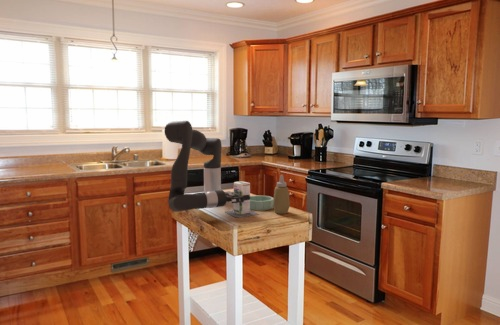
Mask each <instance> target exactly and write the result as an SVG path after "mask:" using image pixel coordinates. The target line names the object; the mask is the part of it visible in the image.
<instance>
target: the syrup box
mask: <svg viewBox="0 0 500 325" xmlns="http://www.w3.org/2000/svg"><path fill="white" fill-rule="evenodd" d="M233 192H234V194H238V195H242V196H243V195H250V196H251V183H250V182H247V181H234V182H233ZM235 197H236V196H235ZM239 200H240V198H239ZM233 212H234V213H237V214H240V215H241V214H246V213H250V200H244V202H240V203H233Z"/></svg>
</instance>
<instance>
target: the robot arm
mask: <svg viewBox="0 0 500 325" xmlns="http://www.w3.org/2000/svg"><path fill="white" fill-rule="evenodd" d="M164 136H165V137H166V140H168V141H169V142H170V143H175V144H180V145H181V149H180V151H179V154H178V156H177V157H176V159H175V161H174V163H173V165H172V166H171V170H170V188H169V193H168V199H167V200H168V203H167V204H168V207H169V209H170V210H171V211H172V212H175V213H177V212H184V211H190V210H200V209H201V210H202V209H213V208H214V209H215V208H220V207H221V208H222V207H225V206H226V203H231V204H234V203H240V202H244V200H250V196H251V194H250V195H243V196H242V195H238V194H234V191H224V190H222V188H221V187H222V185H221V184H222V173H221V170H222V167H221V166H222V165H221V164H222V141H221V139H220V138H216V137H214V138H213V137H212V138H211V137H206V135H205V134H204V133H203V132H201V131H200V130H197V129H194V128H193V126H192V124H191V123H190V121H189V120H179V121H177V120H176V121H170V122H168V123H167V124H166V125H165V126H164ZM191 149H192V150H194V151H198V152H200V153H201V154H203V155H206V156H212V159H209V160H207V161H204V163H203V192H195V193H185V190H186V189H187V187H188V167H189V158H190V152H191ZM235 196H236V197H235ZM239 198H240V200H239Z"/></svg>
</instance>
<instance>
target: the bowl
mask: <svg viewBox="0 0 500 325" xmlns="http://www.w3.org/2000/svg"><path fill="white" fill-rule="evenodd" d="M273 200H274V196H273V197H272V196H269V195H250V210H251V211H268V210H269V211H270V210H272V209H274V207H273Z"/></svg>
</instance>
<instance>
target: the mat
mask: <svg viewBox="0 0 500 325" xmlns="http://www.w3.org/2000/svg"><path fill="white" fill-rule="evenodd" d="M224 213H225V214H227V215H229V216H232V217H234V218H237V219H238V218H243V217H244V218H245V217H250V216H251V217H252V216H260V213H258V212H256V211H254V210H250V213H246V214H241V215H240V214H237V213H234V212H233V210H227V211H224Z"/></svg>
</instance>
